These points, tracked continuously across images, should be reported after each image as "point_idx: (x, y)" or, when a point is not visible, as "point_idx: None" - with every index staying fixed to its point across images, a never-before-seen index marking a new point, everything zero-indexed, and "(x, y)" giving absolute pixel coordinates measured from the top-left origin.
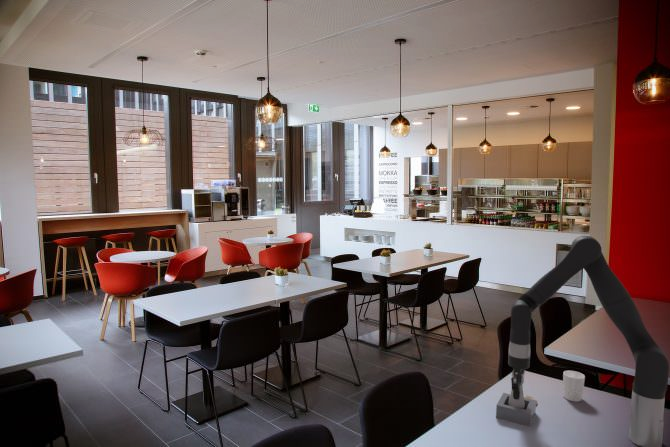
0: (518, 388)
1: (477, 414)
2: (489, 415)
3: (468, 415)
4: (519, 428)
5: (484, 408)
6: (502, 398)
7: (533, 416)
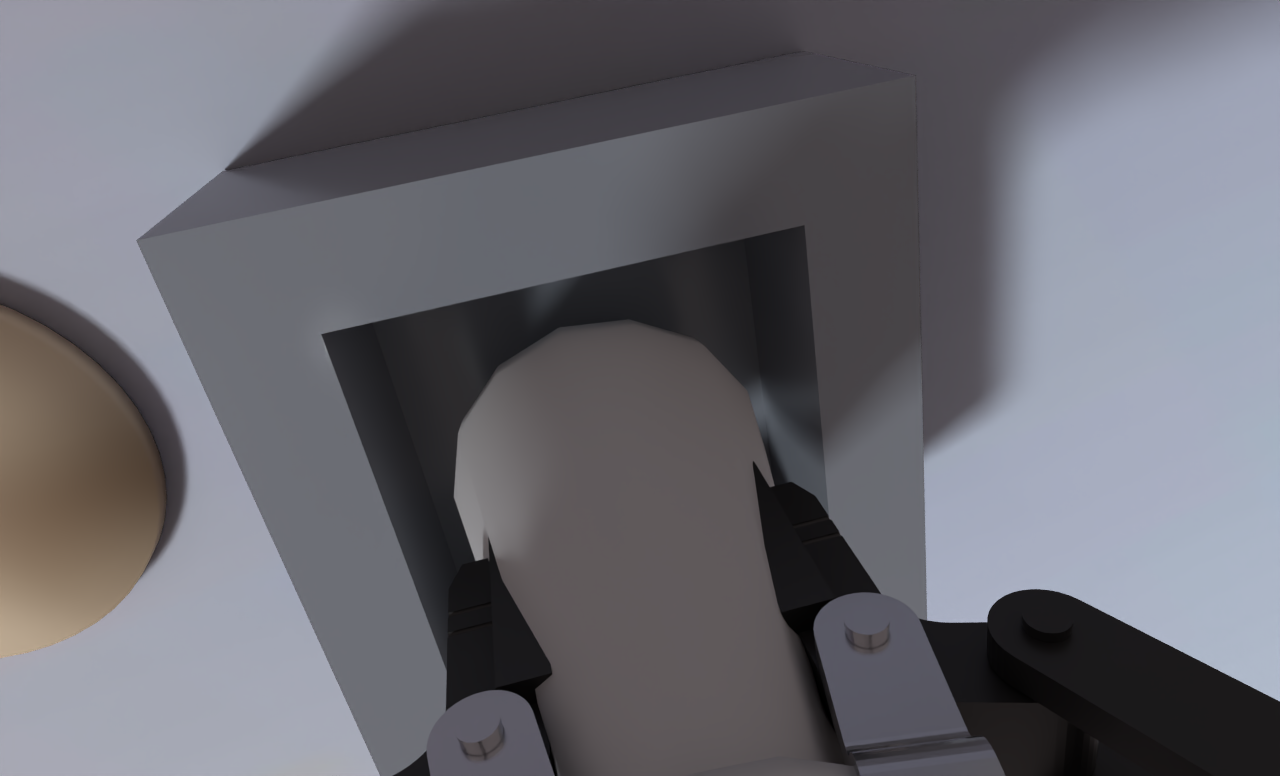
0: (1204, 669)
1: None
2: None
3: None
4: (947, 165)
5: None
6: None
7: (460, 127)
